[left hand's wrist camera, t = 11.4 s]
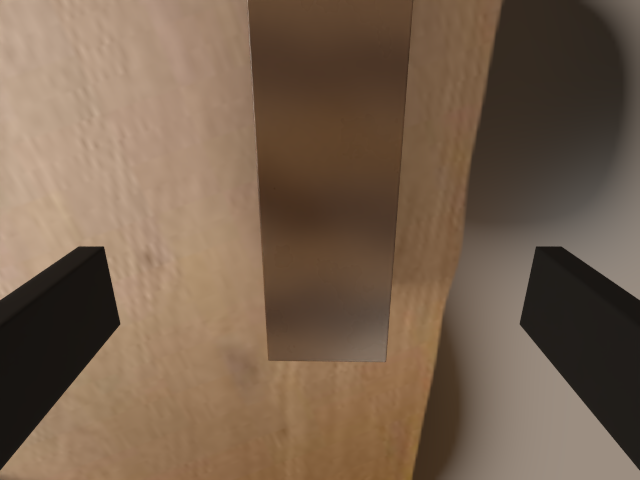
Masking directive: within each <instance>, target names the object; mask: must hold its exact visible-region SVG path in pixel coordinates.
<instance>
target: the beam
mask: <svg viewBox="0 0 640 480" xmlns="http://www.w3.org/2000/svg"><path fill="white" fill-rule="evenodd" d="M412 8H413V0H247V9H248V26H249V43H250V60H251V76H252V93H253V110H254V127H255V144H256V161H257V177H258V194H259V211H260V228H261V245H262V262H263V278H264V295H265V312H266V329H267V346H268V360H269V361H339V362H386V354H387V341H388V327H389V314H390V301H391V288H392V274H393V261H394V248H395V234H396V221H397V208H398V194H399V181H400V168H401V154H402V141H403V128H404V114H405V101H406V88H407V74H408V61H409V48H410V34H411V21H412Z"/></svg>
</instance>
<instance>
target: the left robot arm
mask: <svg viewBox="0 0 640 480" xmlns="http://www.w3.org/2000/svg"><path fill="white" fill-rule="evenodd" d="M119 325H120V320H119V315H118V311H117V306H116V301H115V297H114V292H113V287H112V282H111V278H110V273H109V268H108V264H107V259H106V254H105V249H104V247H77V248H76V249H74V250H73V251H72V252H70V253H69V254H67V255H66V256H64V257H63V258H61V259H60V260H58V261H57V262H55V263H54V264H53V265H51V266H50V267H48V268H47V269H45V270H44V271H42V272H41V273H39V274H38V275H37V276H35V277H34V278H32V279H31V280H29V281H28V282H26V283H25V284H23V285H22V286H20V287H19V288H18V289H16V290H15V291H13V292H12V293H10V294H9V295H7V296H6V297H4V298H3V299H2V300H0V470H1V469H2V468H3V466H4V465H5V464H6V463H7V462H8V460H9V459H10V458H11V457H12V455H13V454H14V453H15V452H16V451H17V449H18V448H19V447H20V446H21V444H22V443H23V442H24V441H25V440H26V438H27V437H28V436H29V435H30V434H31V432H32V431H33V430H34V429H35V427H36V426H37V425H38V424H39V423H40V421H41V420H42V419H43V418H44V416H45V415H46V414H47V413H48V412H49V410H50V409H51V408H52V407H53V406H54V404H55V403H56V402H57V401H58V399H59V398H60V397H61V396H62V395H63V393H64V392H65V391H66V390H67V388H68V387H69V386H70V385H71V384H72V382H73V381H74V380H75V379H76V378H77V376H78V375H79V374H80V373H81V371H82V370H83V369H84V368H85V367H86V365H87V364H88V363H89V362H90V360H91V359H92V358H93V357H94V356H95V354H96V353H97V352H98V351H99V350H100V348H101V347H102V346H103V345H104V343H105V342H106V341H107V340H108V339H109V337H110V336H111V335H112V334H113V332H114V331H115V330H116V329H117V328H118V326H119ZM520 325H521V326H522V328H523V329H524V330H525V331H526V332H527V334H528V335H529V336H530V337H531V339H532V340H533V341H534V342H535V343H536V345H537V346H538V347H539V348H540V349H541V351H542V352H543V353H544V354H545V356H546V357H547V358H548V359H549V360H550V362H551V363H552V364H553V365H554V367H555V368H556V369H557V370H558V371H559V373H560V374H561V375H562V376H563V378H564V379H565V380H566V381H567V382H568V384H569V385H570V386H571V387H572V388H573V390H574V391H575V392H576V393H577V395H578V396H579V397H580V398H581V399H582V401H583V402H584V403H585V404H586V406H587V407H588V408H589V409H590V410H591V412H592V413H593V414H594V415H595V416H596V418H597V419H598V420H599V421H600V423H601V424H602V425H603V426H604V427H605V429H606V430H607V431H608V432H609V434H610V435H611V436H612V437H613V438H614V440H615V441H616V442H617V443H618V444H619V446H620V447H621V448H622V449H623V450H624V452H625V453H626V454H627V455H628V457H629V458H630V459H631V460H632V462H633V463H634V464H635V465H636V466H637V468H638V469H639V470H640V300H638V299H637V298H636V297H634V296H633V295H631V294H630V293H628V292H627V291H625V290H624V289H622V288H621V287H619V286H618V285H617V284H615V283H614V282H612V281H611V280H609V279H608V278H606V277H605V276H603V275H602V274H601V273H599V272H598V271H596V270H595V269H593V268H592V267H590V266H589V265H587V264H586V263H584V262H583V261H582V260H580V259H579V258H577V257H576V256H574V255H573V254H571V253H570V252H568V251H567V250H566V249H564V248H563V247H536V249H535V254H534V259H533V264H532V268H531V273H530V278H529V283H528V287H527V292H526V297H525V301H524V306H523V311H522V315H521V320H520Z"/></svg>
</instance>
